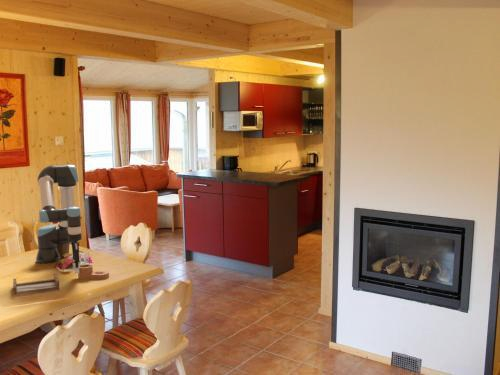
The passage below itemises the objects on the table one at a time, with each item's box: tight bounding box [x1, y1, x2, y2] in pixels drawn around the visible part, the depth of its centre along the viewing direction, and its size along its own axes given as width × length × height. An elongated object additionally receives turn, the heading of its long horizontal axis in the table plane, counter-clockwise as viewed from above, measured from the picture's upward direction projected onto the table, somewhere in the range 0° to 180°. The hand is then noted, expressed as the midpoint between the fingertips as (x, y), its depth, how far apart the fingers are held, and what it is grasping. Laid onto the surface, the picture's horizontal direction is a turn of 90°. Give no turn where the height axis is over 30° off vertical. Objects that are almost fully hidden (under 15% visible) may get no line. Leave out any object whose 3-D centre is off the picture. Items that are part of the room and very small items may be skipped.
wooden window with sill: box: [12, 273, 60, 297], centre depth 277 cm, size 17×23×4 cm
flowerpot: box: [51, 221, 71, 257], centre depth 346 cm, size 14×14×30 cm
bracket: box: [77, 264, 110, 280], centre depth 297 cm, size 18×8×7 cm, turn 89°
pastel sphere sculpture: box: [54, 249, 94, 273], centre depth 321 cm, size 25×24×9 cm
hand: (76, 271), depth 295 cm, fingers open, 5 cm apart
